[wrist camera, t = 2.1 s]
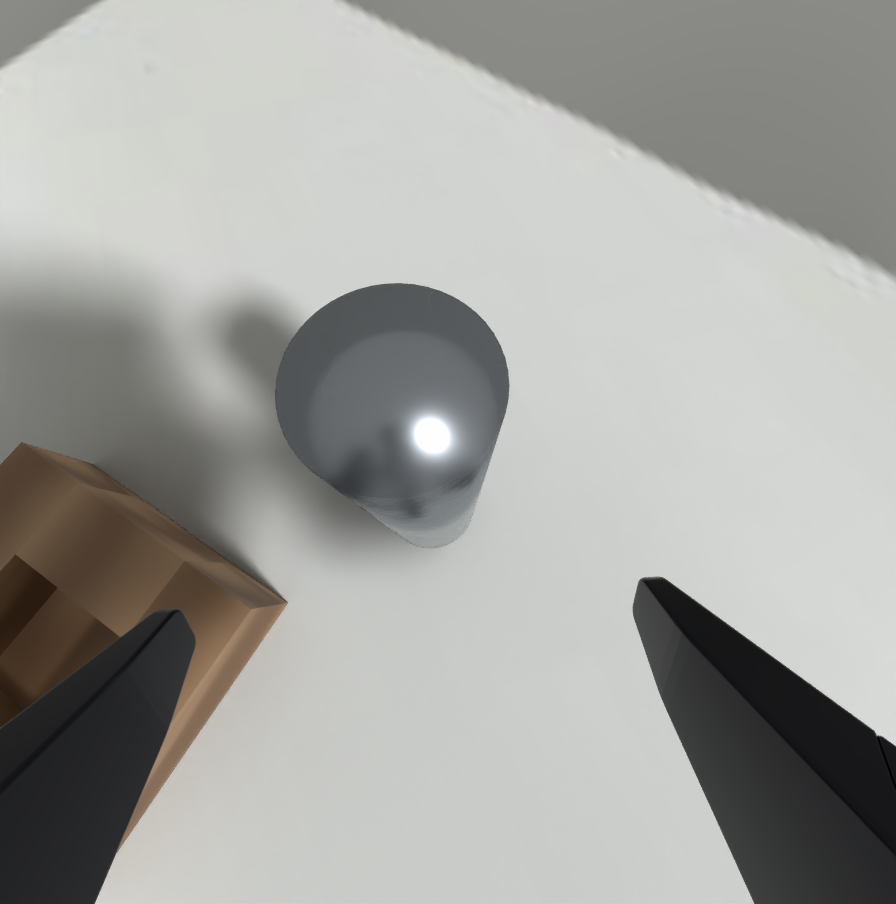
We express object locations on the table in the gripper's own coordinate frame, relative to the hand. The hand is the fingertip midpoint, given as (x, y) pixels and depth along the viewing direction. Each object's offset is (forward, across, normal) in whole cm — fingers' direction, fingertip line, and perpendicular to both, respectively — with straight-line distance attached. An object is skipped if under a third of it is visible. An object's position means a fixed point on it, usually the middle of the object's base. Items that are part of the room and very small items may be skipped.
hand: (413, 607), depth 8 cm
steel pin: (+10, 0, +5) cm, 11 cm away
